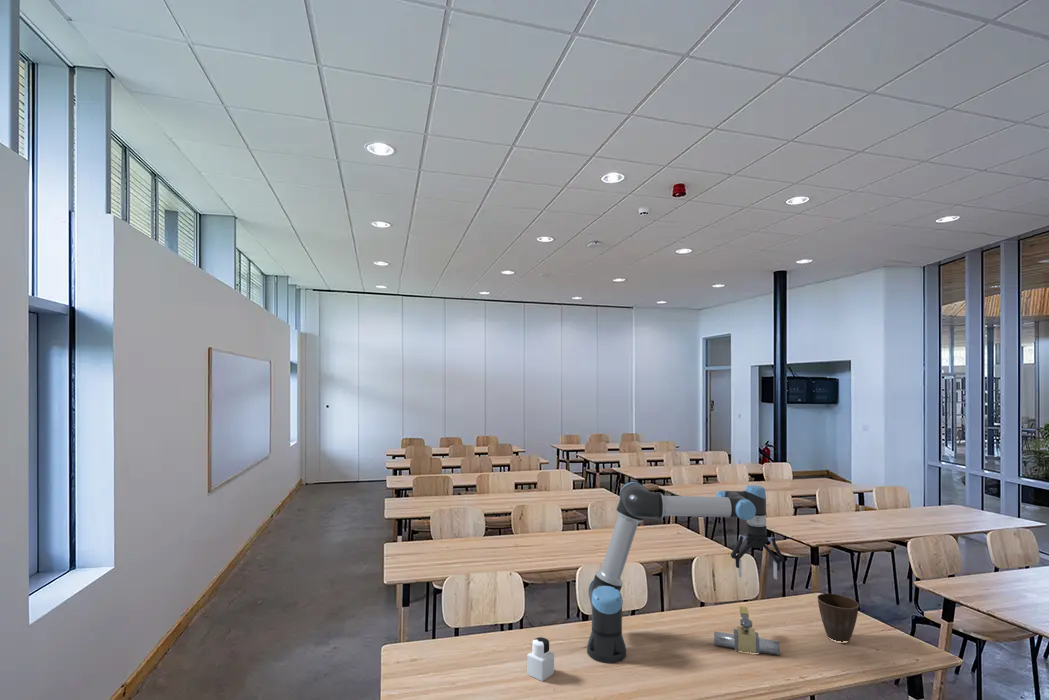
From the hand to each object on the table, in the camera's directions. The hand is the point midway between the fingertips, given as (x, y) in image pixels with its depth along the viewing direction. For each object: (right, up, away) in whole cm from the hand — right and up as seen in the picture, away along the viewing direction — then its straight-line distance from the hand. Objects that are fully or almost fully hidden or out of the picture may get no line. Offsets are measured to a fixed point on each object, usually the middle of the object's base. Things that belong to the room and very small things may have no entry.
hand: (757, 577), depth 222 cm
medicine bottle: (-90, -24, -27) cm, 97 cm away
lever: (-5, -17, 0) cm, 18 cm away
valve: (-7, -26, -7) cm, 28 cm away
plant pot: (+35, -27, +3) cm, 44 cm away
